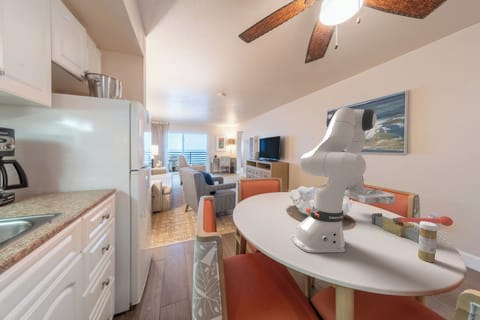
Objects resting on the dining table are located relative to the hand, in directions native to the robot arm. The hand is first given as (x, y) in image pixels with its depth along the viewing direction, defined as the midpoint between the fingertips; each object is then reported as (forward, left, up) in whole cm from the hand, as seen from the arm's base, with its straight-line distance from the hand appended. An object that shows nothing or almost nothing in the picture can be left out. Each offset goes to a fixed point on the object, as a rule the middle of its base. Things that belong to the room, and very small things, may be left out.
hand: (391, 202), depth 90 cm
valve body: (0, -4, -14) cm, 14 cm away
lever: (0, -4, -7) cm, 8 cm away
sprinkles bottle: (-13, -23, -14) cm, 30 cm away
